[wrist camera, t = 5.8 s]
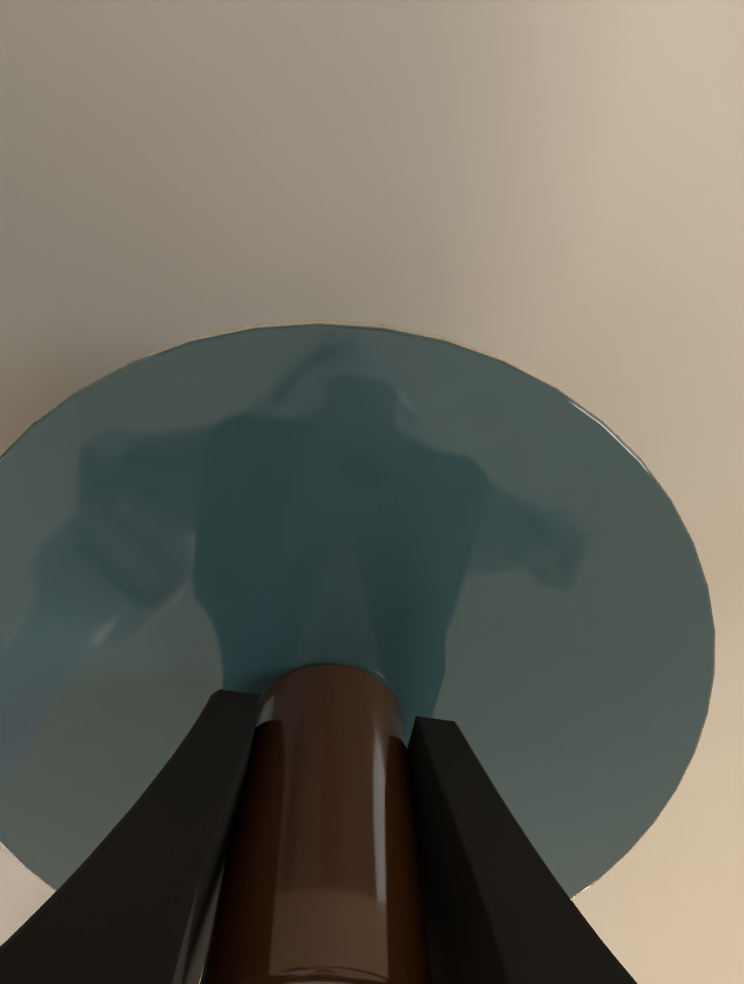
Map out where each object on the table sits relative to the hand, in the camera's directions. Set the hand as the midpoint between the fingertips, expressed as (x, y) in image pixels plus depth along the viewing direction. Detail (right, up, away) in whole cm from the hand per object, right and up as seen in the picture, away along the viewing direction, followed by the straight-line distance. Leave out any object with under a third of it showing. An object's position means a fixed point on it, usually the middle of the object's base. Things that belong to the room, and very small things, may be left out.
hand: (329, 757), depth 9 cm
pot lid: (0, 0, +1) cm, 1 cm away
